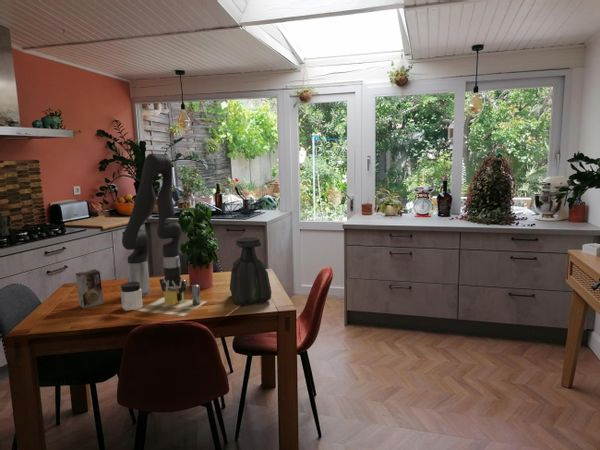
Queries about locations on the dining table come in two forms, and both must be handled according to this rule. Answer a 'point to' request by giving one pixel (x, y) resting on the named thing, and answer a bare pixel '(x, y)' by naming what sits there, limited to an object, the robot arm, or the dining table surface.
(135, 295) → the jar
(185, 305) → the panel
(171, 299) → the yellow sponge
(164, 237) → the robot arm
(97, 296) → the coffee box
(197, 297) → the peg
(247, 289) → the dark grey vase
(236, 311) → the dining table surface
